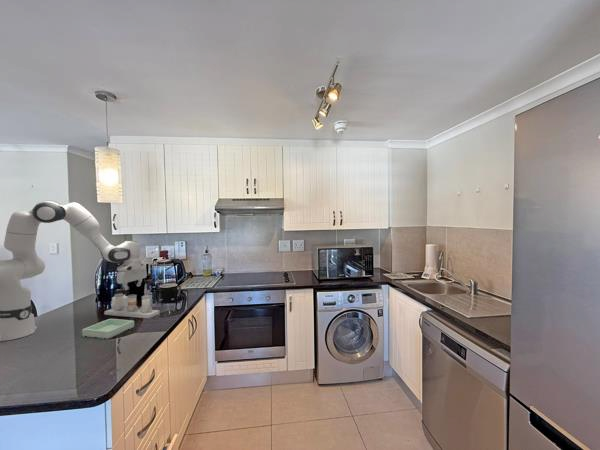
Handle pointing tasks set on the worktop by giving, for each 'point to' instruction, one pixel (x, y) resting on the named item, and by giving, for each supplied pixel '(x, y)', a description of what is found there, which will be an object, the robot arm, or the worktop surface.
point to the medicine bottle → (125, 298)
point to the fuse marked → (131, 302)
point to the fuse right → (145, 303)
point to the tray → (108, 328)
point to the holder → (132, 314)
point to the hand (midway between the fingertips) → (132, 287)
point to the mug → (168, 293)
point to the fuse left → (118, 301)
